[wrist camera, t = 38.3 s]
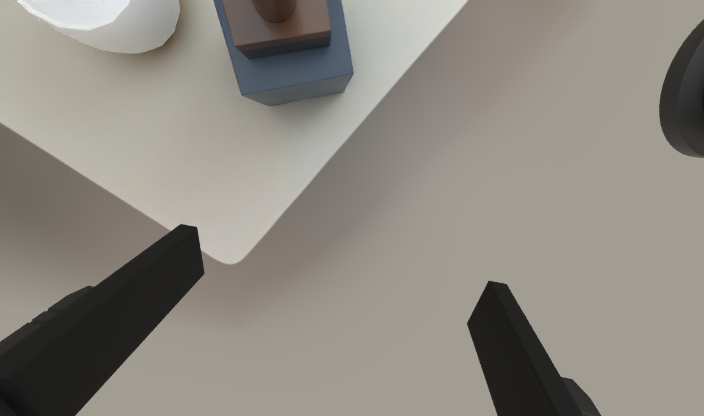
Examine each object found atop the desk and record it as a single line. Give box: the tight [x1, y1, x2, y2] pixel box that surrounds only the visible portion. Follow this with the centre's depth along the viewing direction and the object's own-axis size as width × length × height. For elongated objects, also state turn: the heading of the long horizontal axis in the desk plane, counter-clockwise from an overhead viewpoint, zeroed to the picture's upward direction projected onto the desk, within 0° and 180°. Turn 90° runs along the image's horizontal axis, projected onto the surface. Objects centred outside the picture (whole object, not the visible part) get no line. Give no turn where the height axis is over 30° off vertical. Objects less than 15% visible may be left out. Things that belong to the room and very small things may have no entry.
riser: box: [214, 0, 353, 106], centre depth 27 cm, size 10×10×12 cm
